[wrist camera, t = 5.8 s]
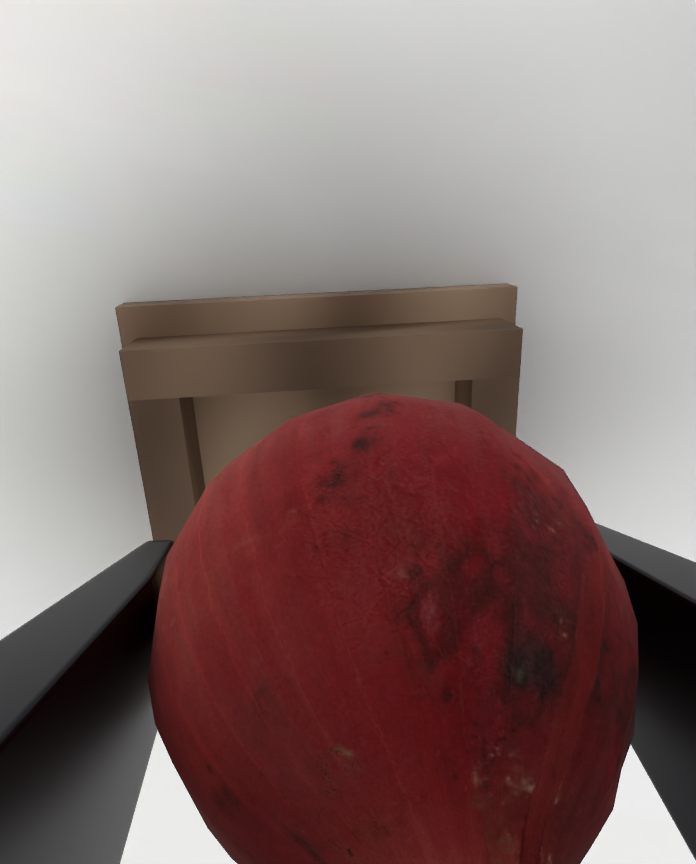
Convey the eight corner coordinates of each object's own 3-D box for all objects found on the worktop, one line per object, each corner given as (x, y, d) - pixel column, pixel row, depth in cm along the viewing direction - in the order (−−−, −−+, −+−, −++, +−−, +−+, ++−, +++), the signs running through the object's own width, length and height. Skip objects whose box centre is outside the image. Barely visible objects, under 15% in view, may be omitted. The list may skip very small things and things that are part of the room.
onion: (310, 277, 10) (378, 486, 2) (563, 445, 11) (1125, 914, 4) (146, 541, 11) (-159, 1227, 4) (391, 658, 13) (541, 1310, 5)
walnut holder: (507, 283, 20) (541, 294, 17) (487, 615, 25) (512, 666, 22) (124, 302, 19) (94, 317, 16) (182, 642, 24) (167, 699, 21)
